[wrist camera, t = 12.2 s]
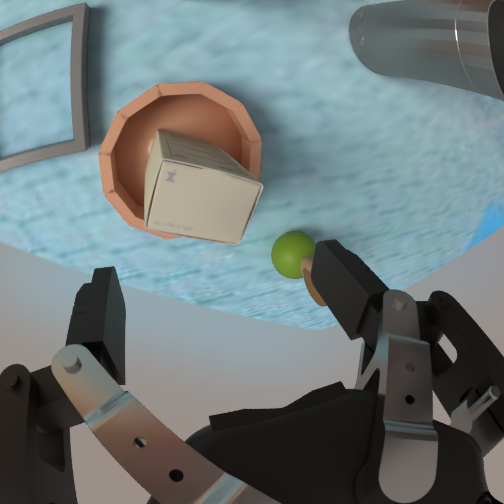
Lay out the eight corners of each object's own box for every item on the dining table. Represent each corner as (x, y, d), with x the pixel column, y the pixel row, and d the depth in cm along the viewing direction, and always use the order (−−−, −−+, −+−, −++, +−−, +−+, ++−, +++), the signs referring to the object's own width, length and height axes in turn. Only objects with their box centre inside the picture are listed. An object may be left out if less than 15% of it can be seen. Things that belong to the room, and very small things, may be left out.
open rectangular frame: (90, 7, 15) (85, 2, 13) (90, 146, 22) (85, 150, 21) (-22, 47, 11) (-31, 47, 10) (-14, 172, 19) (-23, 179, 17)
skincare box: (144, 170, 25) (138, 231, 15) (157, 125, 23) (157, 155, 13) (206, 185, 28) (239, 250, 18) (221, 143, 26) (266, 184, 16)
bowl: (252, 83, 24) (265, 83, 21) (246, 213, 32) (256, 228, 29) (102, 92, 20) (94, 92, 17) (117, 228, 28) (113, 246, 25)
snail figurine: (298, 209, 33) (357, 268, 24) (309, 249, 37) (360, 311, 28) (256, 228, 33) (302, 297, 24) (271, 268, 37) (314, 337, 27)
